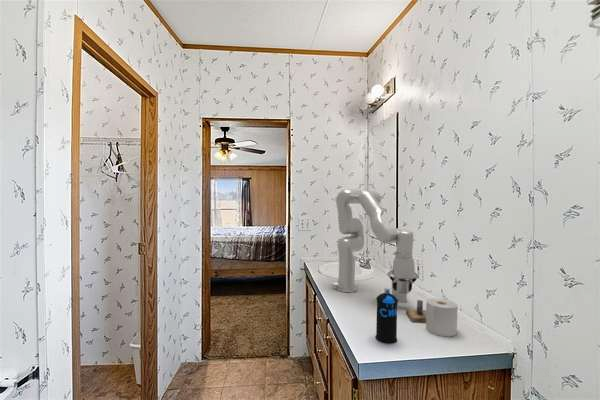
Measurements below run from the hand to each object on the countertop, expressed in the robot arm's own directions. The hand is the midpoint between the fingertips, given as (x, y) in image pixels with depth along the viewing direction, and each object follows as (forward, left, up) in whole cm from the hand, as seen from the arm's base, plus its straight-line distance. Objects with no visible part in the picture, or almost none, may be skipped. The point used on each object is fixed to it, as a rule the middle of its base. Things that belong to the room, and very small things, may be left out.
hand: (401, 289), depth 154 cm
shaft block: (+5, -13, -9) cm, 16 cm away
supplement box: (+2, +12, -9) cm, 15 cm away
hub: (0, 0, -1) cm, 1 cm away
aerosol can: (-15, -35, -9) cm, 39 cm away
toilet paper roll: (+10, -25, -9) cm, 28 cm away
